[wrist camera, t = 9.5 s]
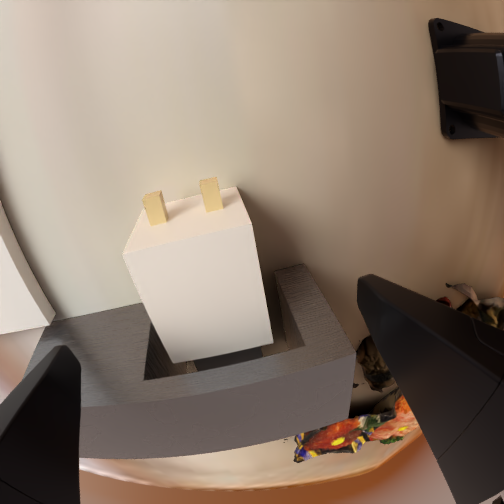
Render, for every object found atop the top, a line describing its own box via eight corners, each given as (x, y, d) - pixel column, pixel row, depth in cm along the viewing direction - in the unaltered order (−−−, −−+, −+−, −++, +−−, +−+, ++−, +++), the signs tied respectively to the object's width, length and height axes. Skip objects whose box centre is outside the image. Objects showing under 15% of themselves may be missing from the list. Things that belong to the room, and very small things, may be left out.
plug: (231, 163, 12) (245, 190, 8) (271, 362, 18) (286, 415, 14) (136, 186, 11) (110, 224, 8) (207, 375, 17) (212, 430, 14)
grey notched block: (304, 263, 14) (356, 353, 9) (310, 334, 17) (347, 418, 12) (47, 322, 14) (12, 406, 8) (88, 378, 16) (72, 456, 11)
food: (394, 254, 16) (430, 289, 13) (507, 289, 21) (529, 308, 18) (266, 446, 25) (274, 476, 22) (398, 426, 30) (409, 447, 27)
